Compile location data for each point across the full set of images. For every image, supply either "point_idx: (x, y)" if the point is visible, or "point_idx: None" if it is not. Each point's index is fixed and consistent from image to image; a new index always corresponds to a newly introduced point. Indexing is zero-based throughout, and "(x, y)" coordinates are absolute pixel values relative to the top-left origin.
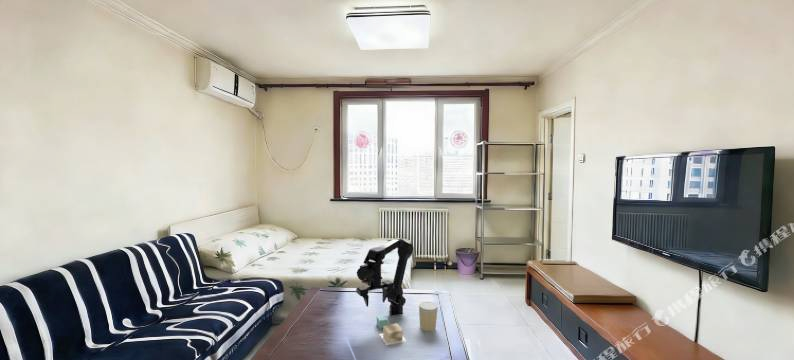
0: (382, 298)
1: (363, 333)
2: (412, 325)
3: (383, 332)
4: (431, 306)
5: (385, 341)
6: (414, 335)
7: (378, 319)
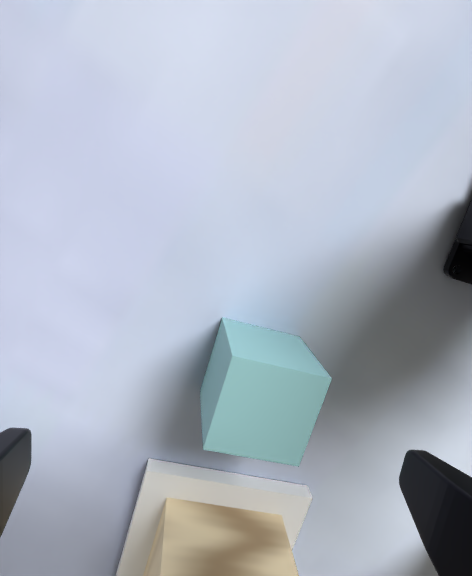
0: (456, 496)
1: (47, 359)
2: (454, 461)
3: (164, 521)
4: None
5: (129, 571)
6: (364, 563)
7: (215, 406)
